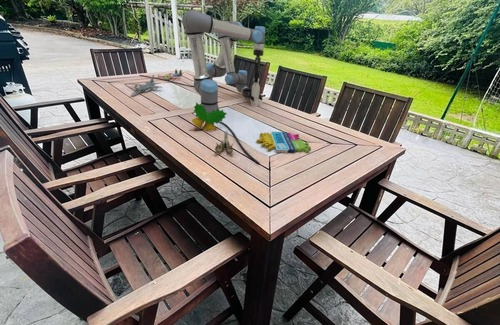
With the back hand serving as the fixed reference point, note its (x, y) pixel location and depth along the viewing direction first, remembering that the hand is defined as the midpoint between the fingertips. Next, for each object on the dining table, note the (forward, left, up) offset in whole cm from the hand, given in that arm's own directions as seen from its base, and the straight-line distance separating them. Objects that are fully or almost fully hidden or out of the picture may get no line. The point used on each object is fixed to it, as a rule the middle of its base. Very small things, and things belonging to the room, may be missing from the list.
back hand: (257, 99), depth 208 cm
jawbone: (+39, -75, -6) cm, 85 cm away
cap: (-5, +2, +15) cm, 15 cm away
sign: (+54, -42, -6) cm, 69 cm away
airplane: (-92, -44, -6) cm, 102 cm away
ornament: (+10, -60, -6) cm, 61 cm away
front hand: (-5, +2, +13) cm, 13 cm away
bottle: (-5, +2, -6) cm, 8 cm away
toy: (-123, +5, -6) cm, 124 cm away
